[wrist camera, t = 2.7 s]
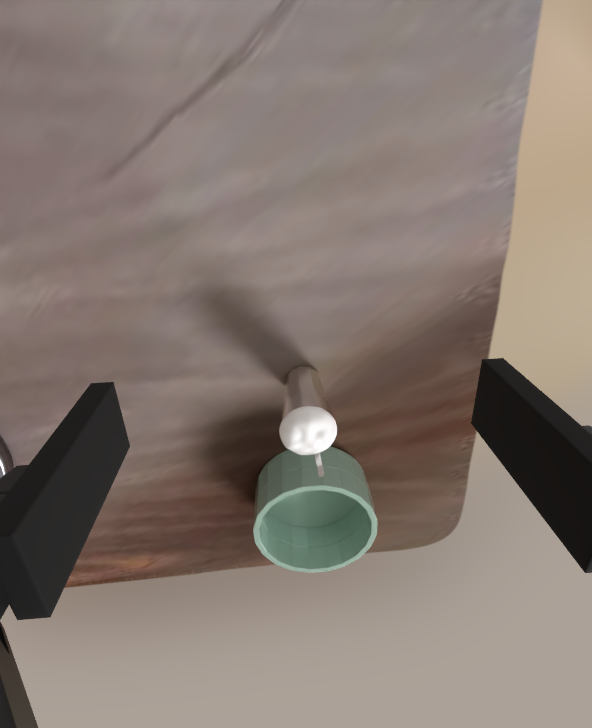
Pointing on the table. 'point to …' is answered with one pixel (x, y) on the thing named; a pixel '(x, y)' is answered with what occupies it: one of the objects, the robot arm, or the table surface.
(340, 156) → the table surface
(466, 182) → the table surface
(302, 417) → the milkshake
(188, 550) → the table surface
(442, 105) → the table surface
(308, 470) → the pot
